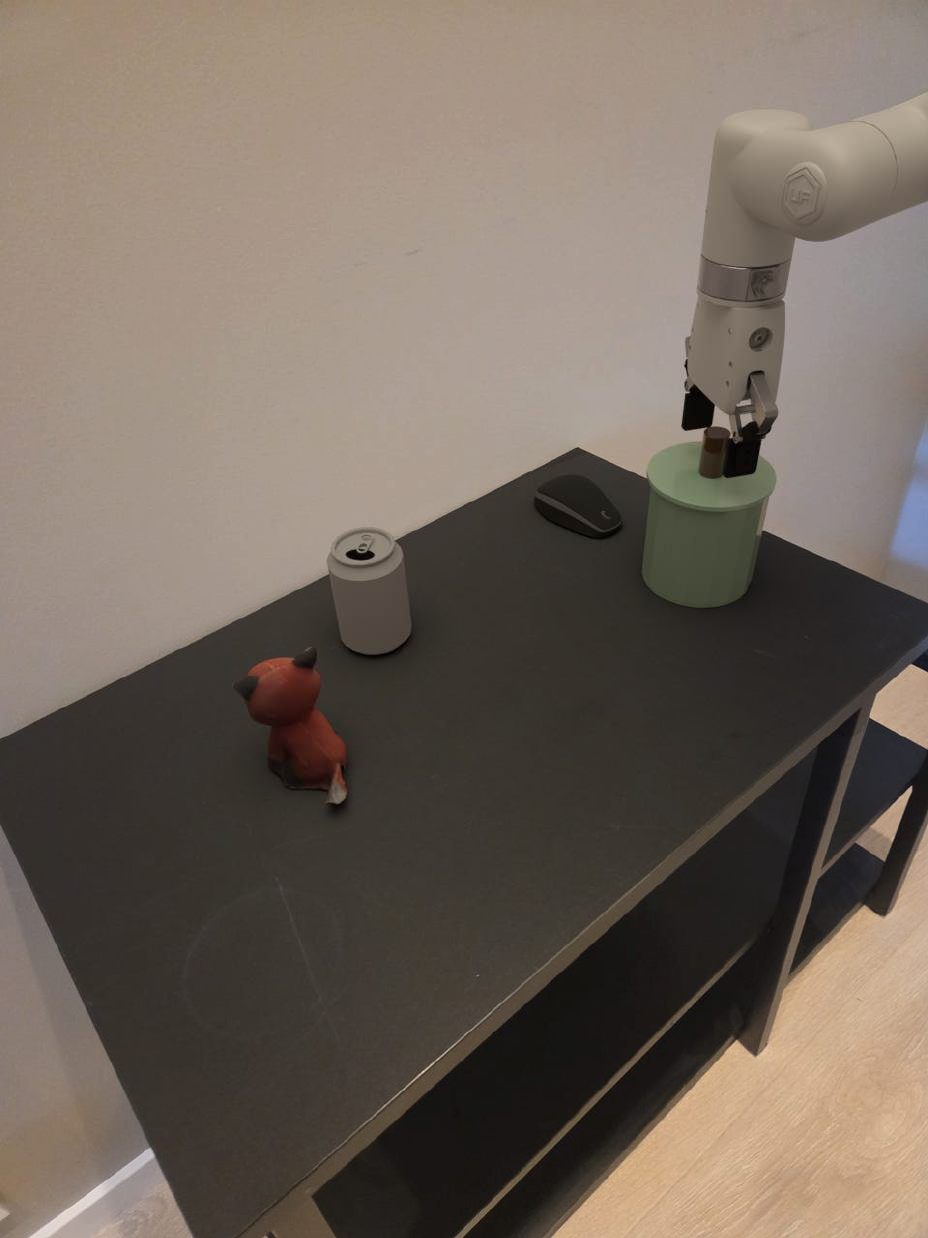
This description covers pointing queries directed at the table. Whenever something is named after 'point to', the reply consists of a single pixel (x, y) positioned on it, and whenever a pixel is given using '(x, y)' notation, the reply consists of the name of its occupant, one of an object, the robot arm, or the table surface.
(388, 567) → the can
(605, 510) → the computer mouse
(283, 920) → the table surface
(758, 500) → the lid
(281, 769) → the stuffed fox
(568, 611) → the table surface
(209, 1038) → the table surface
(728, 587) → the pot
